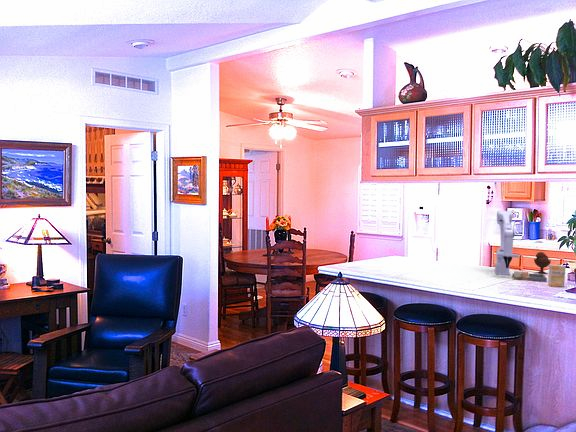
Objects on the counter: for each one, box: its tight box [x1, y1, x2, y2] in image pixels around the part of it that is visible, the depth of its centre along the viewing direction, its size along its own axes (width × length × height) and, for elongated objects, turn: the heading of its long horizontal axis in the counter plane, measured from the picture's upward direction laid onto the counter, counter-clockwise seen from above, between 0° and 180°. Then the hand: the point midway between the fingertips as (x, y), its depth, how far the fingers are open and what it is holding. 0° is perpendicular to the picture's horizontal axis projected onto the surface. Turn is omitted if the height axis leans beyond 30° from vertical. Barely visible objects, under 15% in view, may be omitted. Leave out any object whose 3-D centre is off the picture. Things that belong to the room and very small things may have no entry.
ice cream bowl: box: [533, 251, 552, 275], centre depth 396 cm, size 11×11×15 cm
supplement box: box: [547, 263, 566, 288], centre depth 348 cm, size 8×5×13 cm, turn 82°
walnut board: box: [511, 272, 532, 282], centre depth 373 cm, size 10×14×2 cm
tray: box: [528, 273, 548, 283], centre depth 371 cm, size 9×15×2 cm, turn 163°
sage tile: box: [513, 270, 521, 276], centre depth 374 cm, size 4×4×2 cm
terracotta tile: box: [521, 271, 529, 276], centre depth 373 cm, size 4×4×2 cm
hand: (507, 267), depth 376 cm, fingers closed
